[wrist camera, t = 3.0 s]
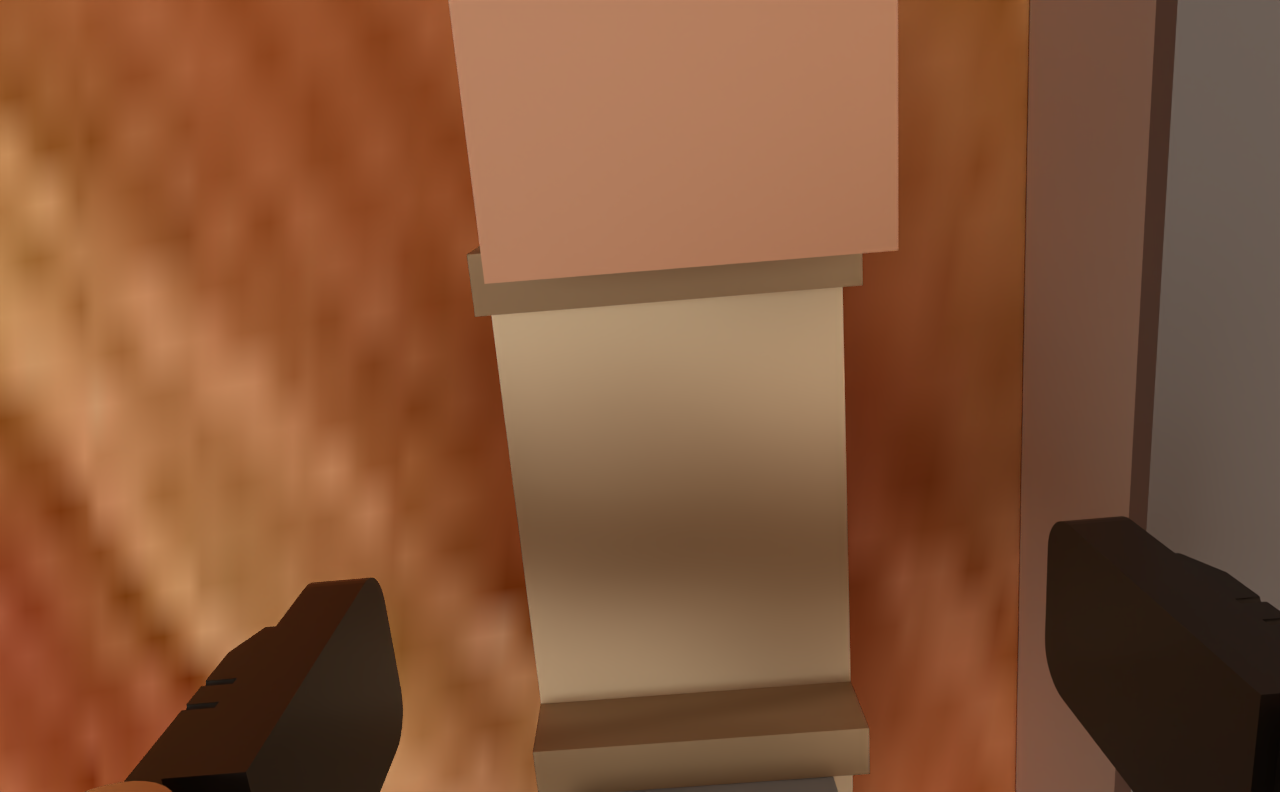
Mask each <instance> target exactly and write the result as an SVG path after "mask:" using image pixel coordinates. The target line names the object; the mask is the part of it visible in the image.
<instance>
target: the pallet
mask: <svg viewBox="0 0 1280 792" xmlns="http://www.w3.org/2000/svg"><path fill="white" fill-rule="evenodd" d="M467 260H468V268H469V275H470V283H471V290H472V298H473V305H474V313H475V317H477V316H490V315H491V316H492V324H493V332H494V339H495V347H496V355H497V363H498V371H499V379H500V386H501V394H502V402H503V410H504V418H505V426H506V433H507V441H508V449H509V457H510V465H511V473H512V480H513V488H514V496H515V504H516V512H517V520H518V527H519V535H520V543H521V551H522V559H523V566H524V574H525V582H526V590H527V598H528V606H529V613H530V621H531V629H532V637H533V645H534V653H535V660H536V668H537V676H538V684H539V692H540V700H541V707H540V713H539V719H538V725H537V731H536V737H535V743H534V748H533V757H534V765H535V772H536V780H537V787H538V792H621V791H635V790H649V789H663V788H677V787H691V786H705V785H720V784H734V783H748V782H762V781H776V780H790V779H804V778H818V777H834V780H835V783H836V787H837V790H838V792H853V775H861V774H870V756H869V727H868V724H867V722H866V719H865V716H864V714H863V711H862V709H861V706H860V704H859V701H858V699H857V696H856V694H855V691H854V689H853V686H852V684H851V673H850V624H849V575H848V525H847V476H846V427H845V378H844V329H843V287H848V286H860V285H863V263H862V253H861V254H849V255H836V256H824V257H811V258H799V259H787V260H774V261H762V262H750V263H737V264H725V265H712V266H700V267H688V268H675V269H663V270H651V271H638V272H626V273H614V274H601V275H589V276H576V277H564V278H552V279H539V280H527V281H515V282H502V283H490V284H484V276H483V268H482V260H481V252H480V246H479V247H477V248H476V249H474V250H473V251H471V252H470V253H468V254H467Z"/></svg>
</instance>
